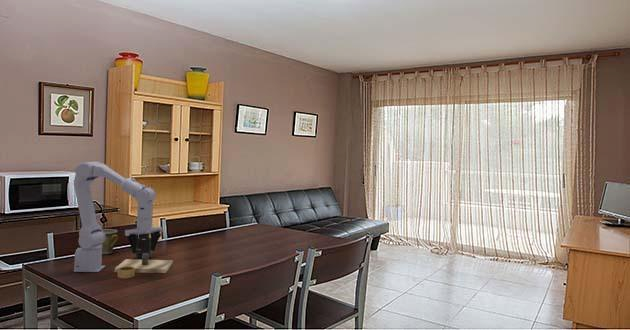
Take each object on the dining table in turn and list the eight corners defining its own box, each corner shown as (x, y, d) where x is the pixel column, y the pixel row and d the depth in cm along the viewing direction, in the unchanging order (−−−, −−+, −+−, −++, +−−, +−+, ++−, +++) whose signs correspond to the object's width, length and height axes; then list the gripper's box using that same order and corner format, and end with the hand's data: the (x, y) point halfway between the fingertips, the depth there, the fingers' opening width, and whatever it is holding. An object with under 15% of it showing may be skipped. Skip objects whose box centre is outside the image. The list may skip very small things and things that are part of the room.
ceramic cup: (88, 252, 204) (89, 231, 203) (106, 248, 213) (107, 228, 212) (107, 257, 198) (108, 235, 198) (126, 252, 207) (126, 231, 207)
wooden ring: (115, 278, 169) (115, 270, 169) (120, 273, 175) (120, 266, 175) (131, 278, 170) (132, 271, 170) (136, 274, 176) (136, 266, 176)
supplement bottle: (133, 259, 197) (134, 233, 196) (137, 255, 203) (137, 230, 203) (149, 259, 198) (150, 233, 197) (152, 255, 204) (153, 230, 204)
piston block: (114, 272, 177) (115, 257, 177) (125, 262, 191) (125, 249, 191) (165, 273, 179) (166, 258, 179) (172, 263, 193) (173, 250, 193)
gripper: (130, 221, 168) (129, 256, 169) (166, 218, 178) (165, 251, 179) (123, 218, 173) (122, 252, 174) (158, 215, 183) (157, 247, 184)
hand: (143, 251), depth 177 cm, fingers open, 7 cm apart
